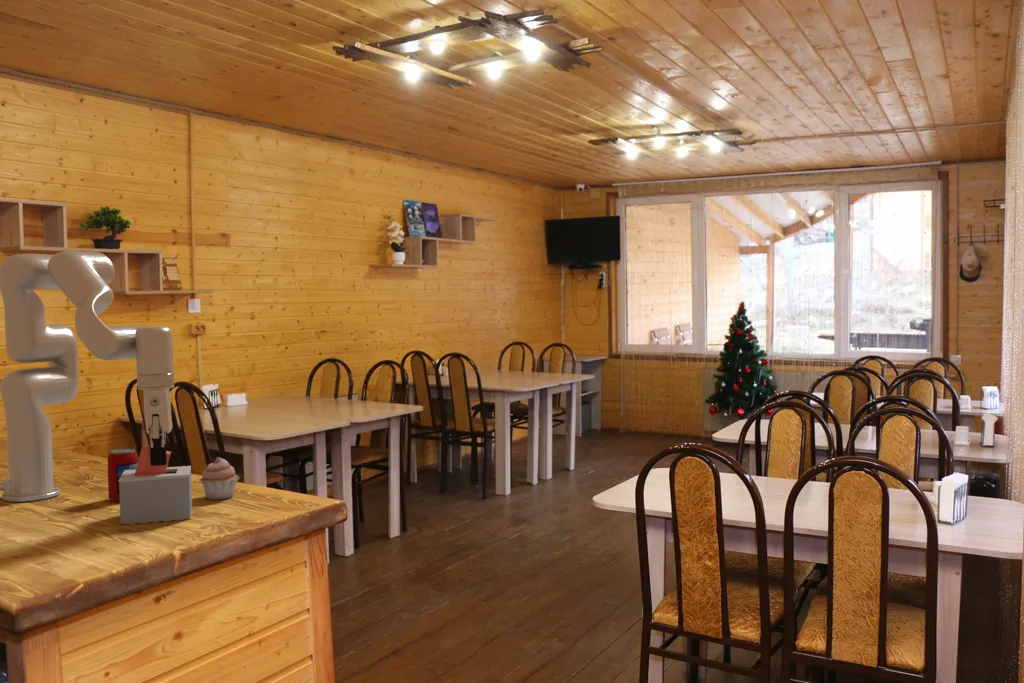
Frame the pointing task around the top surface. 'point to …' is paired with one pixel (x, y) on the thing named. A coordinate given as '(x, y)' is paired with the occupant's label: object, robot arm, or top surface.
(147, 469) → the block
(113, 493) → the beverage can
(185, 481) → the grey box
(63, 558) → the top surface
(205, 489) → the cupcake
